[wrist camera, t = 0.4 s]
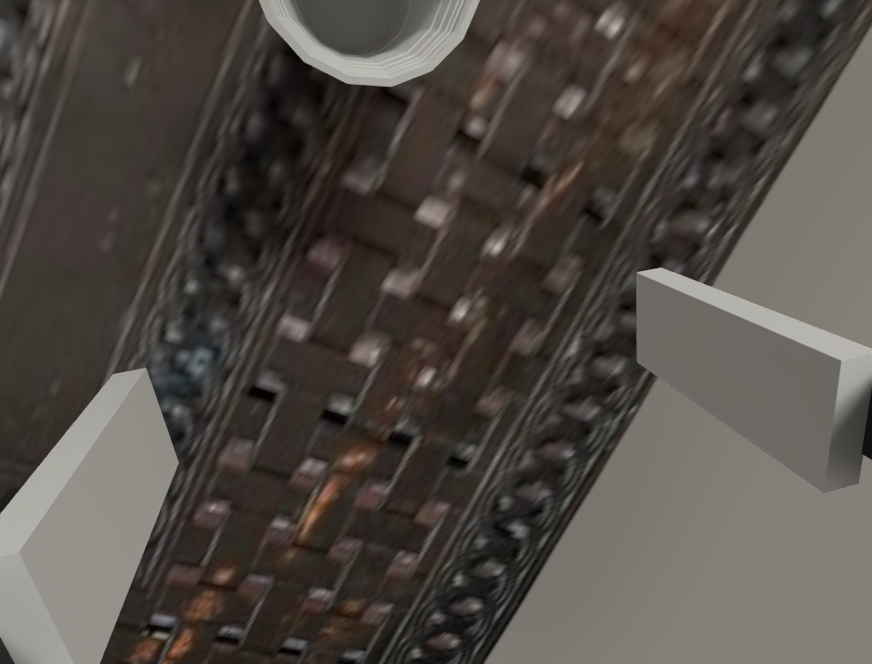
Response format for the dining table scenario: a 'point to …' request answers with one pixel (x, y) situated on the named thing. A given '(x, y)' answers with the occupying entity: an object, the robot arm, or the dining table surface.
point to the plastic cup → (371, 35)
